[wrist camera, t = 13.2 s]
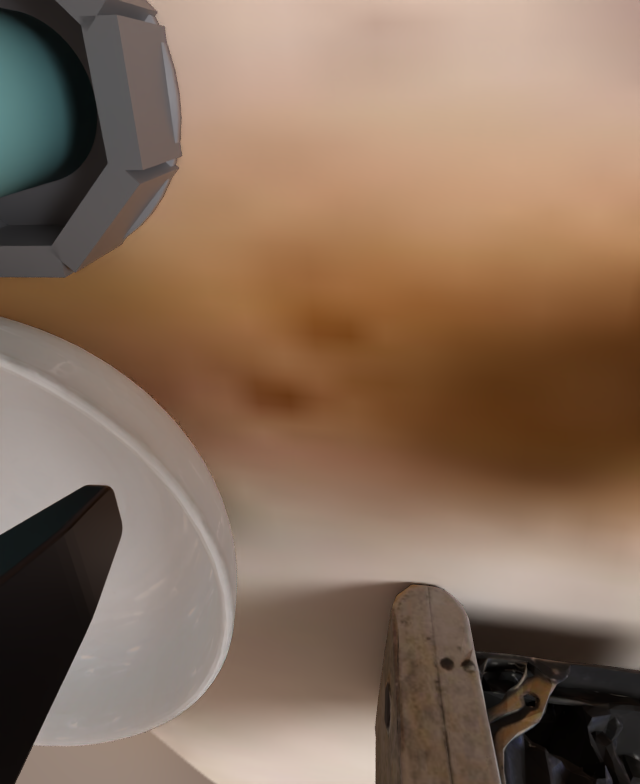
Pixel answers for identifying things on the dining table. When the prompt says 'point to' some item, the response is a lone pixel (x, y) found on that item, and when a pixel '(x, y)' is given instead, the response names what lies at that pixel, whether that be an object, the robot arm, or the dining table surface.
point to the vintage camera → (495, 708)
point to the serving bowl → (138, 541)
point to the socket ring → (100, 141)
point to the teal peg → (41, 105)
